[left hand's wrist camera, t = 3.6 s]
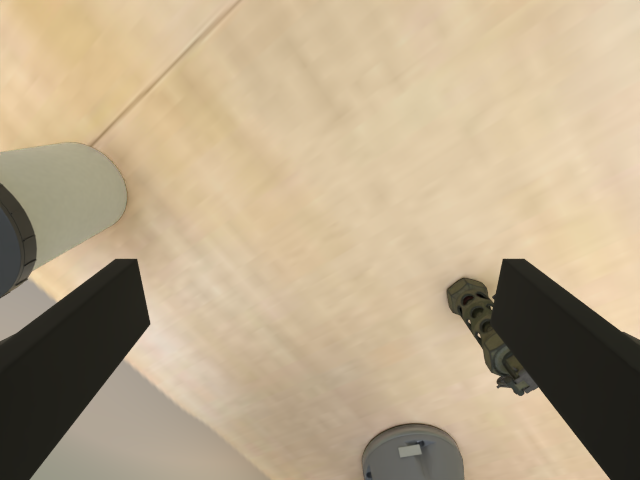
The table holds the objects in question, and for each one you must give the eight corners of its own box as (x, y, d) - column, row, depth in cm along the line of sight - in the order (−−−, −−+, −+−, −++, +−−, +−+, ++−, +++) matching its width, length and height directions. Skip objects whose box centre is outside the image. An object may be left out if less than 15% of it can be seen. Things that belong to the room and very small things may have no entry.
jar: (48, 124, 37) (-124, 135, 23) (139, 172, 39) (33, 211, 25) (25, 203, 40) (-140, 258, 26) (110, 245, 42) (1, 318, 28)
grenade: (460, 327, 46) (520, 423, 32) (432, 299, 45) (484, 387, 31) (517, 285, 44) (609, 369, 30) (490, 255, 43) (574, 328, 29)
